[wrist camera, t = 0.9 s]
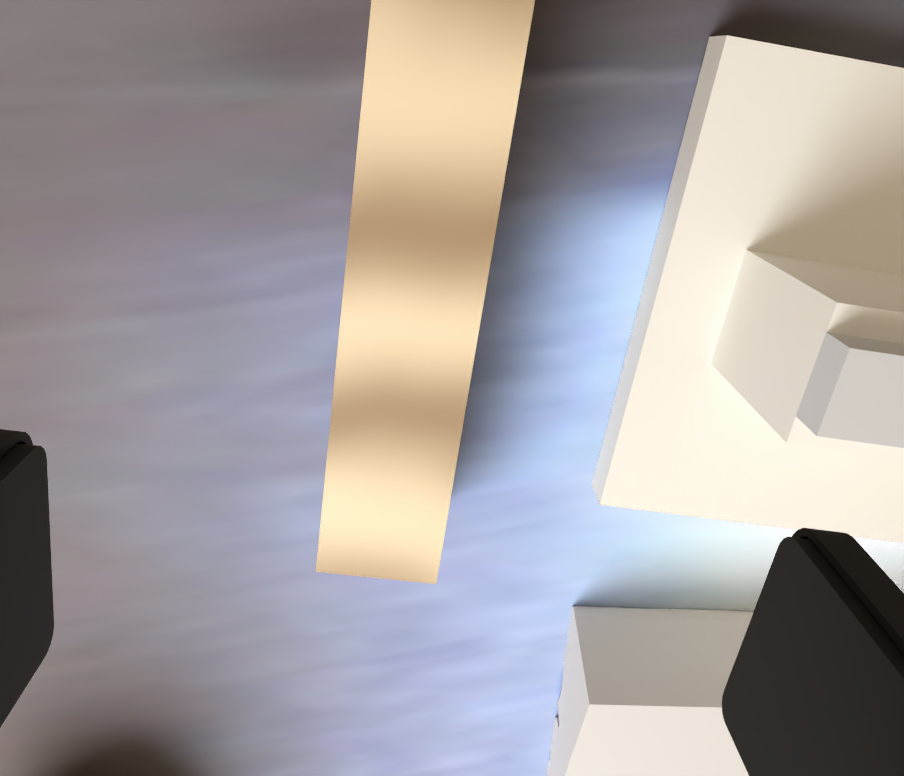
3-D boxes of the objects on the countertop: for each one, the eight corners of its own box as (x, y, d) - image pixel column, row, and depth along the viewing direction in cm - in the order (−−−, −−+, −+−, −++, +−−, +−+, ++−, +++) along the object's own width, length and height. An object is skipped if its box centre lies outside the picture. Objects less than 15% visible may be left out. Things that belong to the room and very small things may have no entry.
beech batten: (410, -267, 21) (406, -358, 17) (553, -238, 22) (589, -320, 17) (332, 494, 30) (316, 571, 26) (434, 505, 31) (436, 583, 26)
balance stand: (709, 36, 24) (853, 24, 16) (1119, 112, 25) (1440, 136, 17) (591, 484, 30) (652, 637, 22) (927, 527, 31) (1100, 686, 23)
